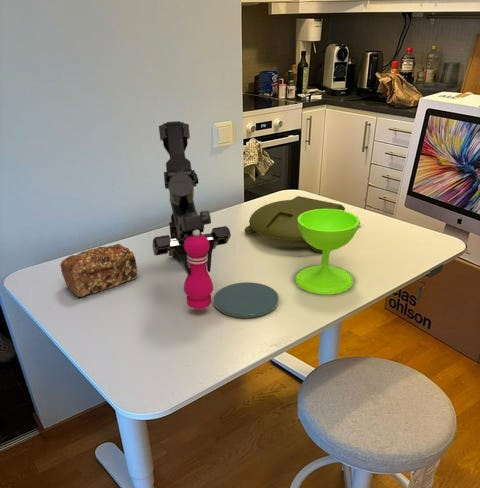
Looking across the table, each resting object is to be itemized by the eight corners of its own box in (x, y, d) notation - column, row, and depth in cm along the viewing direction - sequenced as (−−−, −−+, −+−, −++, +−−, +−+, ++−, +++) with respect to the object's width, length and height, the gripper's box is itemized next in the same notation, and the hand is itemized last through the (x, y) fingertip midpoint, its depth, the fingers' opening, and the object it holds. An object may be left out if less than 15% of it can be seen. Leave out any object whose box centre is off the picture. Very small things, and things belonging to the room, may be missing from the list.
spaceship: (286, 208, 187) (286, 182, 182) (362, 225, 172) (365, 197, 166) (231, 240, 164) (230, 212, 158) (313, 263, 148) (315, 232, 143)
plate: (201, 309, 128) (201, 305, 127) (234, 281, 140) (234, 277, 139) (260, 325, 120) (260, 321, 120) (289, 294, 133) (289, 290, 132)
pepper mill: (217, 298, 127) (216, 225, 116) (206, 312, 122) (204, 237, 110) (192, 293, 129) (188, 221, 118) (179, 306, 124) (175, 232, 112)
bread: (78, 300, 133) (70, 267, 128) (64, 286, 140) (55, 253, 135) (140, 279, 142) (135, 247, 137) (123, 266, 150) (118, 235, 144)
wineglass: (293, 267, 146) (295, 209, 136) (348, 267, 145) (354, 208, 135) (297, 294, 132) (299, 232, 123) (357, 294, 132) (364, 231, 122)
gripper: (148, 205, 112) (163, 269, 109) (226, 194, 117) (243, 255, 114) (147, 224, 123) (160, 284, 120) (219, 214, 127) (233, 270, 125)
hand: (199, 273), depth 119 cm, fingers closed on pepper mill, 5 cm apart
